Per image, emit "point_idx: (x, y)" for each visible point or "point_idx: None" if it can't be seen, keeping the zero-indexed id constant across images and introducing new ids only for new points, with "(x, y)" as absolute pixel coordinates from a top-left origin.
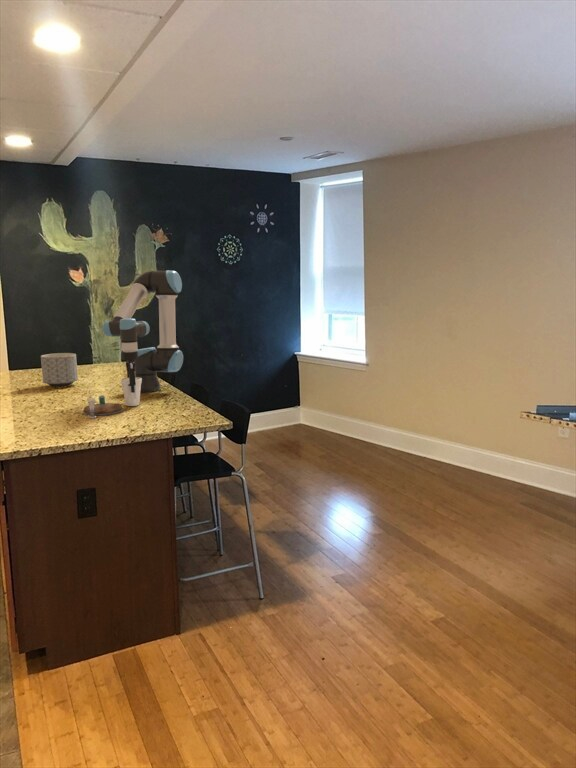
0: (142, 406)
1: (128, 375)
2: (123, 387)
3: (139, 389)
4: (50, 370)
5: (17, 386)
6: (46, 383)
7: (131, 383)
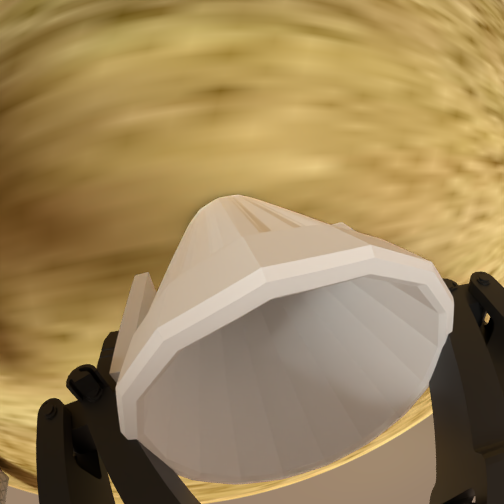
0: (283, 164)
1: (194, 498)
2: (312, 388)
3: (320, 221)
4: (2, 498)
5: (20, 485)
6: (8, 478)
7: (483, 315)
